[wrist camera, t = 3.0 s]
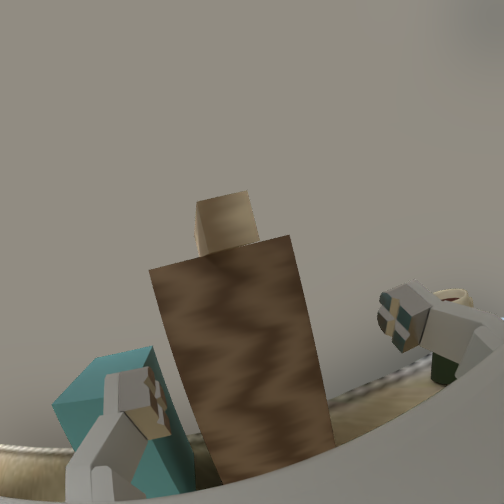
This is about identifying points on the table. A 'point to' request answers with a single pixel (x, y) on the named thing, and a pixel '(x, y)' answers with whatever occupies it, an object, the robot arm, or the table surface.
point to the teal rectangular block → (157, 450)
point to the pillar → (246, 356)
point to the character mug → (441, 366)
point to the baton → (224, 223)
